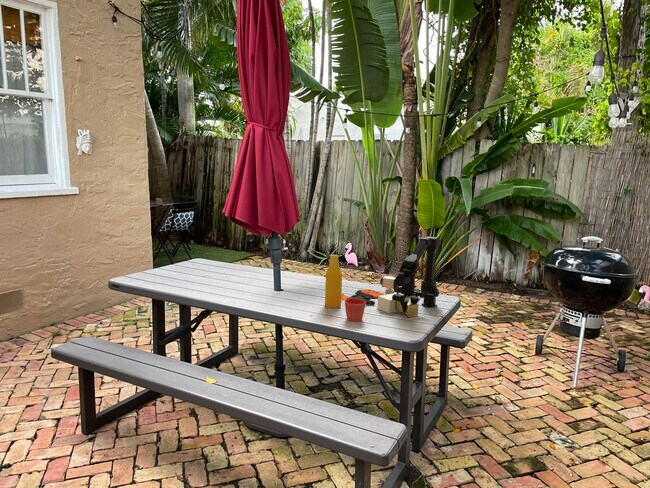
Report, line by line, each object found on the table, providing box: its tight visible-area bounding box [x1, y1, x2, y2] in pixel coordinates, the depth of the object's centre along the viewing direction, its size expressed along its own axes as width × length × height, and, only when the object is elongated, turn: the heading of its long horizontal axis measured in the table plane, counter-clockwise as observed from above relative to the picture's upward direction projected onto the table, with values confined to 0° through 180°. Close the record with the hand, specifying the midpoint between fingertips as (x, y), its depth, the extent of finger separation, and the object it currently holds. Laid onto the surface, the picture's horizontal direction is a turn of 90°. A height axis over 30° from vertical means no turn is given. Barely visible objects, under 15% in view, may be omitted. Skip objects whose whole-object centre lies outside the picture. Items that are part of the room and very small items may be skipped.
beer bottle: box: [324, 254, 343, 309], centre depth 260 cm, size 9×9×29 cm
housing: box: [377, 292, 410, 314], centre depth 258 cm, size 14×10×7 cm
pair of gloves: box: [341, 289, 386, 306], centre depth 279 cm, size 27×24×3 cm
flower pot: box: [344, 299, 367, 323], centre depth 238 cm, size 11×11×10 cm
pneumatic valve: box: [379, 275, 400, 295], centre depth 289 cm, size 6×12×12 cm, turn 51°
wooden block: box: [395, 301, 419, 318], centre depth 252 cm, size 6×17×6 cm, turn 33°
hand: (407, 311), depth 248 cm, fingers closed on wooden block, 5 cm apart
